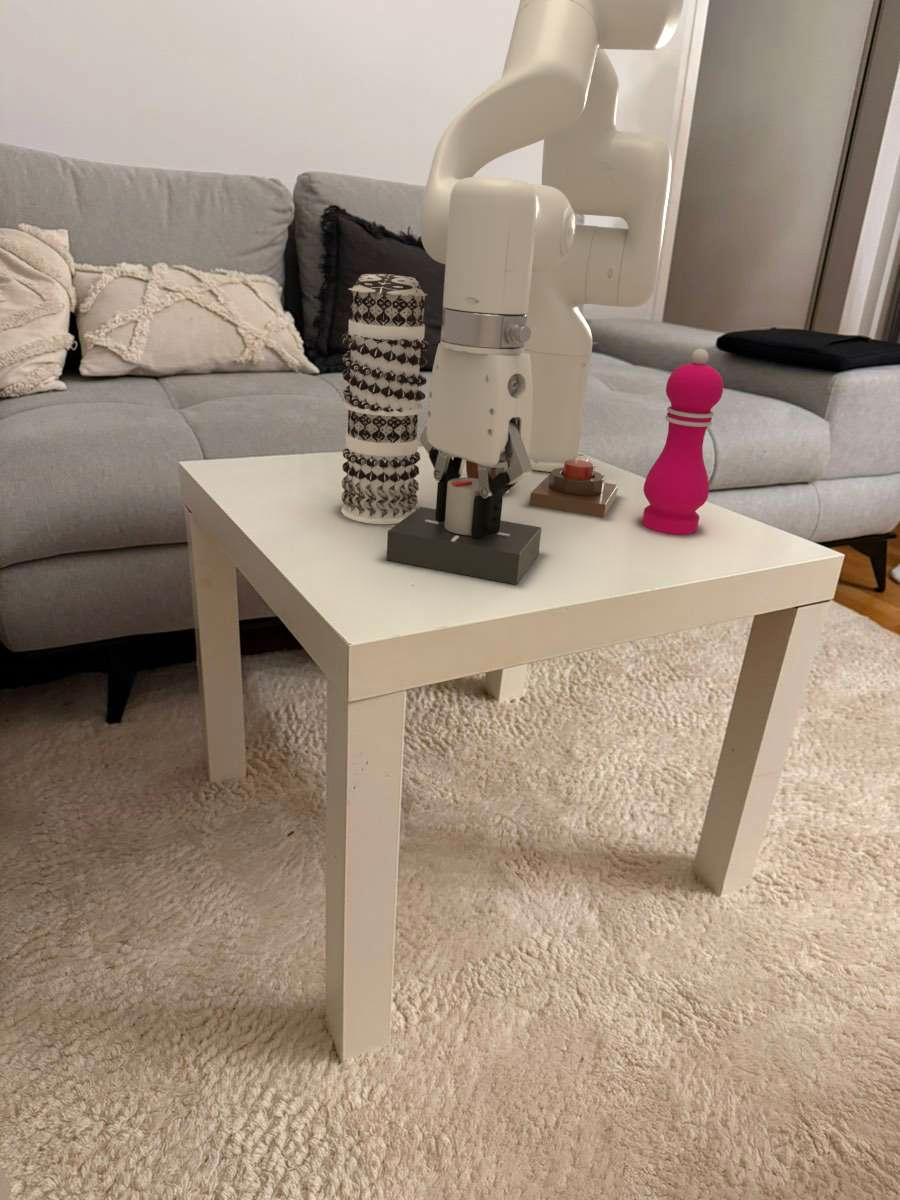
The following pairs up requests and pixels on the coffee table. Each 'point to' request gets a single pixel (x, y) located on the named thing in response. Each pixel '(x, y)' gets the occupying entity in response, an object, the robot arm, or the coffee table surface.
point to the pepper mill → (683, 449)
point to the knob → (460, 505)
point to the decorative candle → (383, 398)
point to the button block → (574, 494)
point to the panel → (464, 548)
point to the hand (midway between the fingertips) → (466, 525)
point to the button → (578, 469)
